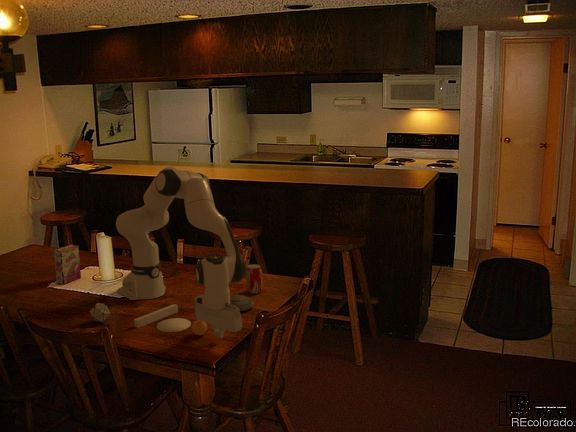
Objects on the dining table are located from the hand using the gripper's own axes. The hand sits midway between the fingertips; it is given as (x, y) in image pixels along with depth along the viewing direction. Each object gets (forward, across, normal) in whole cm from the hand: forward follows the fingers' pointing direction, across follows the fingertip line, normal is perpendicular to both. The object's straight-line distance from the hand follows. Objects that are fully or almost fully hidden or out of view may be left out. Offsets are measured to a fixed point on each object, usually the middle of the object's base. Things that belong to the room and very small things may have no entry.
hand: (219, 336), depth 210 cm
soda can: (+2, +24, -46) cm, 52 cm away
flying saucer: (+2, +18, -28) cm, 33 cm away
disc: (+2, +25, 0) cm, 25 cm away
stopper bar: (+2, +35, 0) cm, 35 cm away
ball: (-1, +10, 0) cm, 10 cm away
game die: (+2, +50, +15) cm, 52 cm away
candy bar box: (+2, +105, -5) cm, 105 cm away
